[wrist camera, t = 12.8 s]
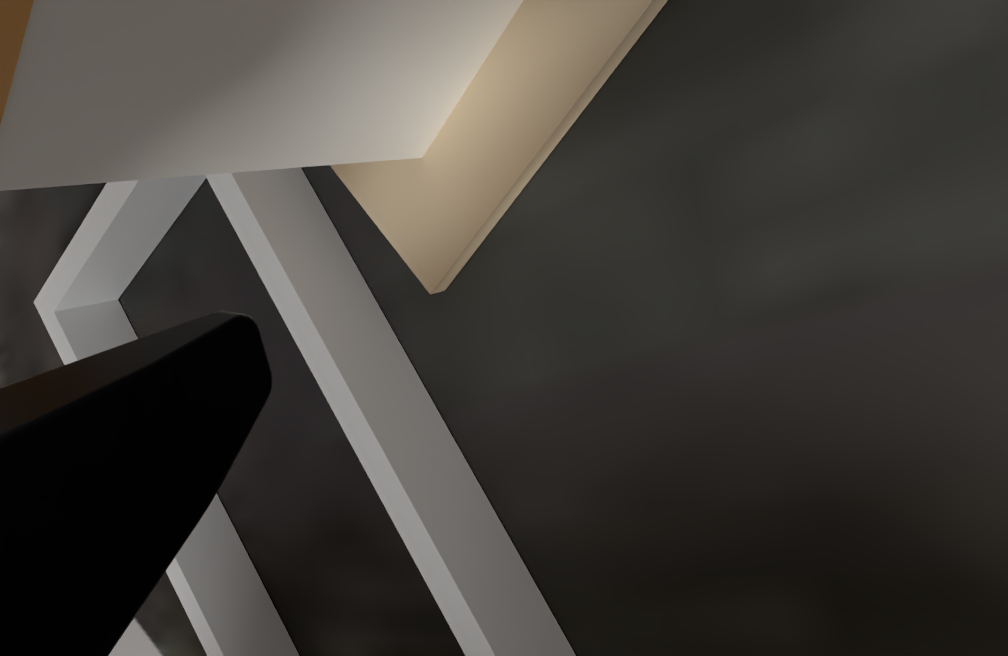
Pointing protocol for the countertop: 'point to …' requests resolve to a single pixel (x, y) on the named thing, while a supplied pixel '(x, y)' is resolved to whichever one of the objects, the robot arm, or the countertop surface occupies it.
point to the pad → (497, 131)
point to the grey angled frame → (349, 391)
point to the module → (229, 84)
